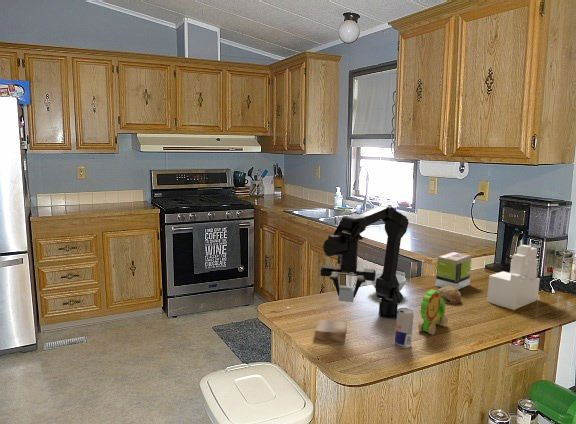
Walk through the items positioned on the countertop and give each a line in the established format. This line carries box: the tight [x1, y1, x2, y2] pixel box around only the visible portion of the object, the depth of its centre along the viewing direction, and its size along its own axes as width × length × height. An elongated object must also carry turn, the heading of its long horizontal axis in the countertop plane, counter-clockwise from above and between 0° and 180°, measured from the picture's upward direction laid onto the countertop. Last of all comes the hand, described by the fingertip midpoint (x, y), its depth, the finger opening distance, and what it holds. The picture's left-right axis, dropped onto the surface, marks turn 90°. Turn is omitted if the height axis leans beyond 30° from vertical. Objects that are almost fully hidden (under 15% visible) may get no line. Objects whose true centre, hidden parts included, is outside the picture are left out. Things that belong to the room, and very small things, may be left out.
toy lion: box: [417, 289, 449, 336], centre depth 163 cm, size 16×5×15 cm, turn 137°
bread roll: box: [437, 286, 462, 305], centre depth 196 cm, size 10×10×8 cm
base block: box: [314, 319, 348, 343], centre depth 157 cm, size 10×10×3 cm
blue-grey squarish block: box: [338, 284, 355, 303], centre depth 159 cm, size 5×5×4 cm
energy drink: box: [394, 307, 415, 349], centre depth 150 cm, size 5×5×12 cm
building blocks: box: [486, 244, 541, 311], centre depth 196 cm, size 21×12×25 cm, turn 128°
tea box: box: [435, 251, 472, 291], centre depth 216 cm, size 15×10×15 cm, turn 133°
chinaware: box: [371, 272, 407, 292], centre depth 201 cm, size 15×15×8 cm
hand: (346, 296), depth 159 cm, fingers closed on blue-grey squarish block, 5 cm apart
